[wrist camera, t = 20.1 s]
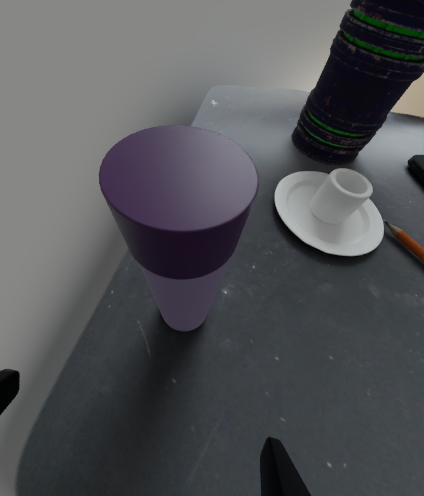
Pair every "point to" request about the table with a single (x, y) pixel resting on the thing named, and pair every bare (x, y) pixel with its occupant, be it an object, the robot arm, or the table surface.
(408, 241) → the pencil
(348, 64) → the dark blue cylinder
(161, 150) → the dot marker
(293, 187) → the candle holder
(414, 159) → the game console
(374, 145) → the table surface
